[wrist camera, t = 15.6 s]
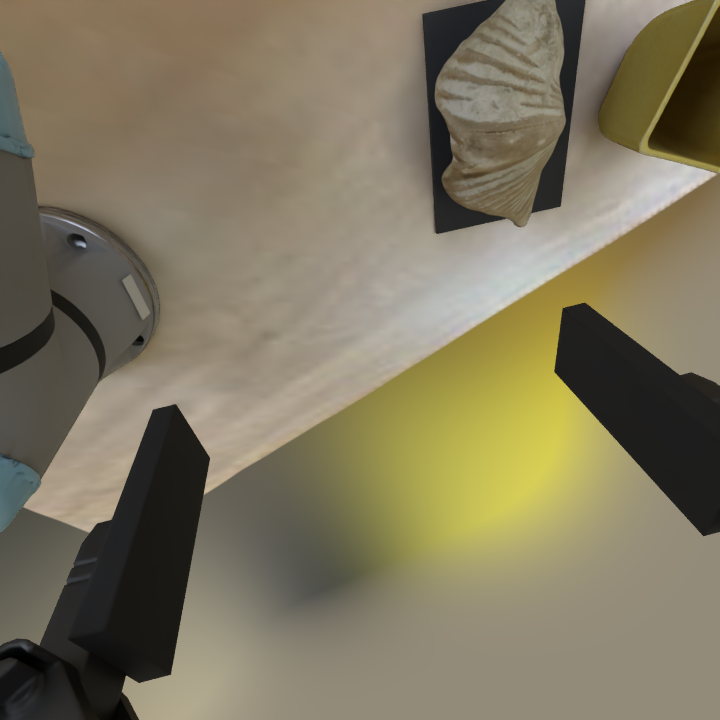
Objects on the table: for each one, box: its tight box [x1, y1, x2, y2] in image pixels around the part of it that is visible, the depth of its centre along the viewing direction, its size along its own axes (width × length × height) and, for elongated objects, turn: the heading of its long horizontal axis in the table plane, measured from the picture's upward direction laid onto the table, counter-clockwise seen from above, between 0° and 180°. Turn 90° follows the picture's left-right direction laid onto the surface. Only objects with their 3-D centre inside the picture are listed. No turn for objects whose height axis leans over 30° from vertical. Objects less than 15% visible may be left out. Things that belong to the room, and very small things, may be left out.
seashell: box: [435, 0, 566, 227], centre depth 31 cm, size 14×9×10 cm
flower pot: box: [598, 0, 720, 174], centre depth 30 cm, size 9×9×9 cm
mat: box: [423, 0, 585, 234], centre depth 34 cm, size 12×16×1 cm
